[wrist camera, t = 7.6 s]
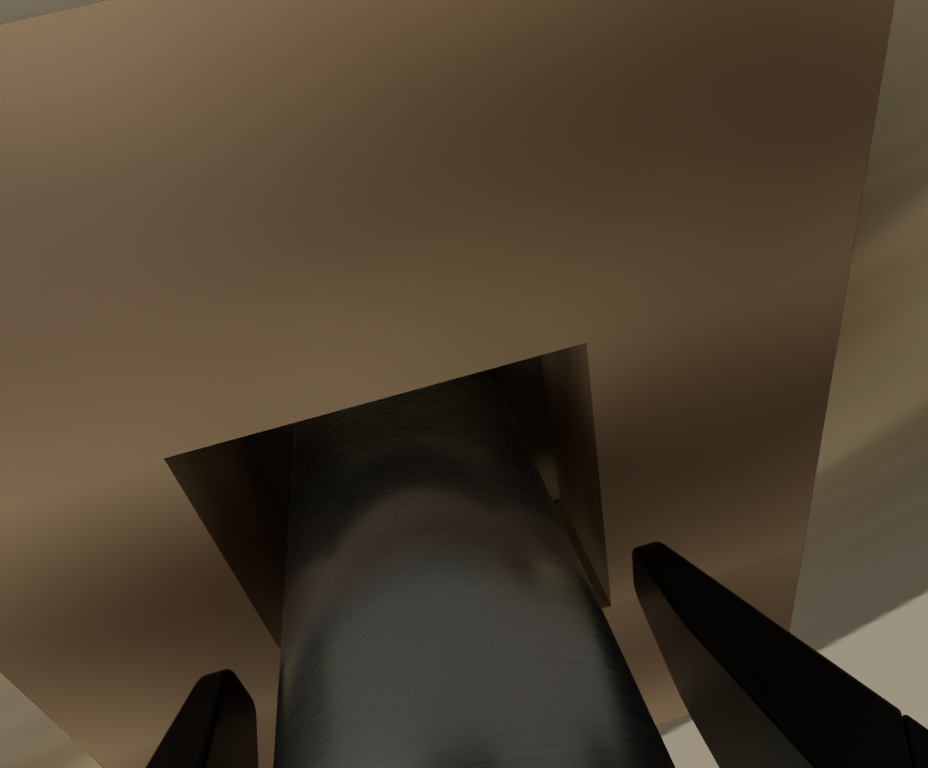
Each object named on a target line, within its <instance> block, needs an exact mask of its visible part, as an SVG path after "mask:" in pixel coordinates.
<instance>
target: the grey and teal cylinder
mask: <svg viewBox="0 0 928 768" xmlns="http://www.w3.org/2000/svg"><path fill="white" fill-rule="evenodd" d="M273 768H675V766H674V764H673V762H672V760H671V758H670V755H669V753H668V751H667V749H666V747H665V745H664V743H663V740H662V738H661V736H660V734H659V732H658V729H657V727H656V725H655V723H654V721H653V719H652V716H651V714H650V712H649V710H648V708H647V706H646V703H645V701H644V699H643V697H642V695H641V693H640V690H639V688H638V686H637V684H636V682H635V680H634V677H633V675H632V673H631V671H630V669H629V667H628V664H627V662H626V660H625V658H624V656H623V654H622V651H621V649H620V647H619V645H618V643H617V641H616V638H615V636H614V634H613V632H612V630H611V628H610V625H609V623H608V621H607V619H606V617H605V615H604V612H603V610H602V608H601V606H600V604H599V602H598V599H597V597H596V595H595V593H594V591H593V589H592V586H591V584H590V582H589V580H588V578H587V576H586V573H585V571H584V569H583V567H582V565H581V563H580V560H579V558H578V556H577V554H576V552H575V550H574V547H573V545H572V543H571V541H570V539H569V537H568V534H567V532H566V530H565V528H564V526H563V524H562V521H561V519H560V517H559V515H558V513H557V511H556V508H555V506H554V504H553V502H552V500H551V498H550V495H549V493H548V491H547V489H546V487H545V485H544V483H543V480H542V478H541V476H540V474H539V472H538V470H537V467H536V465H535V463H534V461H533V459H532V457H531V454H530V452H529V450H528V448H527V446H526V444H525V441H524V439H523V437H522V435H521V433H520V431H519V428H518V426H517V424H516V422H515V420H514V418H513V415H512V413H511V411H510V409H509V407H508V405H507V402H506V400H505V398H504V396H503V394H502V392H501V389H500V387H499V386H498V384H497V383H496V381H495V380H494V379H493V377H492V376H491V375H490V374H489V373H488V372H487V371H486V370H485V371H481V372H478V373H474V374H470V375H467V376H463V377H459V378H456V379H452V380H448V381H445V382H441V383H437V384H434V385H430V386H426V387H423V388H419V389H416V390H412V391H408V392H405V393H401V394H397V395H394V396H390V397H386V398H383V399H379V400H375V401H372V402H368V403H364V404H361V405H357V406H353V407H350V408H346V409H342V410H339V411H335V412H332V413H328V414H324V415H321V416H317V417H313V418H310V419H306V420H302V421H299V422H296V423H295V429H294V440H293V456H292V472H291V488H290V504H289V520H288V537H287V553H286V569H285V585H284V601H283V617H282V634H281V650H280V666H279V682H278V698H277V714H276V731H275V747H274V763H273Z"/></svg>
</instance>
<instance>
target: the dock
mask: <svg viewBox="0 0 928 768" xmlns="http://www.w3.org/2000/svg"><path fill="white" fill-rule="evenodd" d="M894 1H895V0H107V1H102V2H98V3H93V4H89V5H84V6H80V7H76V8H71V9H67V10H62V11H58V12H54V13H49V14H45V15H40V16H36V17H32V18H27V19H23V20H18V21H14V22H10V23H5V24H1V25H0V672H1V673H2V674H3V675H4V676H5V677H6V678H7V679H8V680H9V681H11V682H12V683H13V684H14V685H15V686H16V687H17V688H18V689H19V690H20V691H21V692H22V693H23V694H24V695H26V696H27V697H28V698H29V699H30V700H31V701H32V702H33V703H34V704H35V705H36V706H37V707H38V708H40V709H41V710H42V711H43V712H44V713H45V714H46V715H47V716H48V717H49V718H50V719H51V720H52V721H53V722H55V723H56V724H57V725H58V726H59V727H60V728H61V729H62V730H63V731H64V732H65V733H66V734H67V735H68V736H70V737H71V738H72V739H73V740H74V741H75V742H76V743H77V744H78V745H79V746H80V747H81V748H82V749H84V750H85V751H86V752H87V753H88V754H89V755H90V756H91V757H92V758H93V759H94V760H95V761H96V762H97V763H99V764H100V765H101V766H102V767H103V768H145V767H146V766H147V764H148V762H149V761H150V759H151V757H152V756H153V754H154V752H155V751H156V749H157V747H158V746H159V744H160V742H161V740H162V739H163V737H164V735H165V734H166V732H167V730H168V729H169V727H170V725H171V724H172V722H173V720H174V719H175V717H176V715H177V714H178V712H179V710H180V709H181V707H182V705H183V704H184V702H185V700H186V699H187V697H188V695H189V693H190V692H191V690H192V688H193V687H194V685H195V684H196V682H197V681H198V680H199V679H200V678H201V677H202V676H204V675H207V674H210V673H214V672H217V671H220V670H224V669H230V670H232V671H233V672H234V673H235V674H236V676H237V677H238V679H239V680H240V681H241V683H242V684H243V686H244V687H245V689H246V690H247V691H248V693H249V694H250V696H251V697H252V699H253V701H254V704H255V708H256V716H257V739H258V763H259V768H273V763H274V747H275V731H276V714H277V698H278V682H279V666H280V650H281V634H282V617H283V601H284V585H285V569H286V553H287V537H288V528H287V526H286V524H285V522H284V520H283V518H282V516H281V514H280V512H279V510H278V508H277V506H276V504H275V502H274V500H273V498H272V496H271V494H270V492H269V490H268V488H267V486H266V484H265V482H264V480H263V478H262V476H261V474H260V472H259V470H258V468H257V466H256V464H255V462H254V460H253V458H252V456H251V454H250V452H249V450H248V448H247V446H246V444H245V442H244V440H243V438H242V437H244V436H248V435H251V434H255V433H258V432H262V431H266V430H269V429H273V428H277V427H280V426H284V425H288V424H291V423H295V422H299V421H302V420H306V419H310V418H313V417H317V416H321V415H324V414H328V413H332V412H335V411H339V410H342V409H346V408H350V407H353V406H357V405H361V404H364V403H368V402H372V401H375V400H379V399H383V398H386V397H390V396H394V395H397V394H401V393H405V392H408V391H412V390H416V389H419V388H423V387H426V386H430V385H434V384H437V383H441V382H445V381H448V380H452V379H456V378H459V377H463V376H467V375H470V374H474V373H478V372H481V371H485V370H489V369H492V368H496V367H500V366H503V365H507V364H510V363H514V362H518V361H521V360H525V359H529V358H532V357H536V356H540V359H541V366H542V373H543V380H544V387H545V394H546V401H547V408H548V415H549V422H550V428H551V435H552V442H553V449H554V456H555V463H556V470H557V477H558V484H559V491H560V498H561V502H558V503H554V506H555V508H556V511H557V513H558V515H559V517H560V519H561V521H562V524H563V526H564V528H565V530H566V532H567V534H568V537H569V539H570V541H571V543H572V545H573V547H574V550H575V552H576V554H577V556H578V558H579V560H580V563H581V565H582V567H583V569H584V571H585V573H586V576H587V578H588V580H589V582H590V584H591V586H592V589H593V591H594V593H595V595H596V597H597V599H598V602H599V604H600V606H601V608H602V610H603V612H604V615H605V617H606V619H607V621H608V623H609V625H610V628H611V630H612V632H613V634H614V636H615V638H616V641H617V643H618V645H619V647H620V649H621V651H622V654H623V656H624V658H625V660H626V662H627V664H628V667H629V669H630V671H631V673H632V675H633V677H634V680H635V682H636V684H637V686H638V688H639V690H640V693H641V695H642V697H643V699H644V701H645V703H646V706H647V708H648V710H649V712H650V714H651V716H652V719H653V721H654V723H655V725H659V724H662V723H665V722H668V721H671V720H675V719H678V718H681V717H684V716H687V715H690V714H689V712H688V710H687V708H686V707H685V705H684V703H683V701H682V699H681V697H680V695H679V693H678V690H677V688H676V686H675V684H674V682H673V679H672V677H671V675H670V672H669V670H668V668H667V665H666V663H665V661H664V658H663V656H662V654H661V651H660V649H659V647H658V644H657V642H656V640H655V637H654V635H653V633H652V631H651V628H650V626H649V624H648V621H647V619H646V617H645V614H644V612H643V610H642V607H641V605H640V603H639V600H638V598H637V595H636V592H635V588H634V582H633V565H632V551H633V549H634V548H635V547H638V546H641V545H644V544H648V543H651V542H656V541H657V542H661V543H663V544H665V545H666V546H668V547H669V548H671V549H672V550H673V551H675V552H676V553H678V554H679V555H681V556H682V557H683V558H685V559H686V560H688V561H689V562H690V563H692V564H693V565H695V566H696V567H698V568H699V569H700V570H702V571H703V572H705V573H706V574H707V575H709V576H710V577H712V578H713V579H715V580H716V581H717V582H719V583H720V584H722V585H723V586H725V587H726V588H727V589H729V590H730V591H732V592H733V593H734V594H736V595H737V596H739V597H740V598H742V599H743V600H744V601H746V602H747V603H749V604H750V605H752V606H753V607H754V608H756V609H757V610H759V611H760V612H761V613H763V614H764V615H766V616H767V617H769V618H770V619H771V620H773V621H774V622H776V623H777V624H779V625H780V626H781V627H783V628H784V629H786V630H787V631H788V632H789V629H790V623H791V617H792V611H793V605H794V600H795V594H796V588H797V582H798V576H799V570H800V564H801V558H802V552H803V546H804V540H805V534H806V528H807V522H808V516H809V510H810V504H811V498H812V492H813V486H814V480H815V474H816V468H817V462H818V456H819V450H820V444H821V438H822V432H823V426H824V420H825V414H826V408H827V402H828V396H829V390H830V384H831V378H832V372H833V366H834V360H835V354H836V348H837V342H838V336H839V330H840V324H841V318H842V312H843V306H844V300H845V294H846V288H847V283H848V277H849V271H850V265H851V259H852V253H853V247H854V241H855V235H856V229H857V223H858V217H859V211H860V205H861V199H862V193H863V187H864V181H865V175H866V169H867V163H868V157H869V151H870V145H871V139H872V133H873V127H874V121H875V115H876V109H877V103H878V97H879V91H880V85H881V79H882V73H883V67H884V61H885V55H886V49H887V43H888V37H889V31H890V25H891V19H892V13H893V7H894Z"/></svg>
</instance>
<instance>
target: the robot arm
mask: <svg viewBox="0 0 928 768" xmlns="http://www.w3.org/2000/svg"><path fill="white" fill-rule="evenodd" d="M632 565H633V582H634V588H635V592H636V595H637V598H638V600H639V603H640V605H641V607H642V610H643V612H644V614H645V617H646V619H647V621H648V624H649V626H650V628H651V631H652V633H653V635H654V637H655V640H656V642H657V644H658V647H659V649H660V651H661V654H662V656H663V658H664V661H665V663H666V665H667V668H668V670H669V672H670V675H671V677H672V679H673V682H674V684H675V686H676V688H677V690H678V693H679V695H680V697H681V699H682V701H683V703H684V705H685V707H686V708H687V710H688V712H689V714H690V716H691V718H692V720H693V721H694V723H695V725H696V727H697V728H698V730H699V732H700V734H701V736H702V737H703V739H704V741H705V743H706V744H707V746H708V748H709V750H710V751H711V753H712V755H713V757H714V759H715V760H716V762H717V764H718V766H719V767H720V768H928V729H926V728H925V727H924V726H922V725H921V724H919V723H918V722H917V721H915V720H914V719H912V718H911V717H909V716H908V715H903V716H902V714H901V711H900V710H899V709H898V708H896V707H895V706H893V705H892V704H891V703H889V702H888V701H886V700H885V699H884V698H882V697H881V696H879V695H878V694H877V693H875V692H874V691H872V690H871V689H869V688H868V687H866V686H865V685H864V684H862V683H861V682H859V681H858V680H857V679H855V678H854V677H852V676H851V675H849V674H848V673H846V672H845V671H844V670H842V669H841V668H840V667H838V666H837V665H835V664H834V663H832V662H831V661H830V660H828V659H827V658H825V657H824V656H823V655H821V654H820V653H818V652H817V651H815V650H814V649H813V648H811V647H810V646H808V645H807V644H805V643H804V642H803V641H801V640H800V639H798V638H797V637H796V636H794V635H793V634H791V633H790V632H788V631H787V630H786V629H784V628H783V627H781V626H780V625H779V624H777V623H776V622H774V621H773V620H771V619H770V618H769V617H767V616H766V615H764V614H763V613H761V612H760V611H759V610H757V609H756V608H754V607H753V606H752V605H750V604H749V603H747V602H746V601H744V600H743V599H742V598H740V597H739V596H737V595H736V594H734V593H733V592H732V591H730V590H729V589H727V588H726V587H725V586H723V585H722V584H720V583H719V582H717V581H716V580H715V579H713V578H712V577H710V576H709V575H707V574H706V573H705V572H703V571H702V570H700V569H699V568H698V567H696V566H695V565H693V564H692V563H690V562H689V561H688V560H686V559H685V558H683V557H682V556H681V555H679V554H678V553H676V552H675V551H673V550H672V549H671V548H669V547H668V546H666V545H665V544H663V543H661V542H657V541H656V542H651V543H648V544H644V545H641V546H638V547H635V548H634V549H633V551H632ZM145 768H259V763H258V739H257V716H256V708H255V704H254V701H253V699H252V697H251V696H250V694H249V693H248V691H247V690H246V689H245V687H244V686H243V684H242V683H241V681H240V680H239V679H238V677H237V676H236V674H235V673H234V672H233V671H232V670H230V669H224V670H220V671H217V672H214V673H210V674H207V675H204V676H202V677H201V678H200V679H199V680H198V681H197V682H196V684H195V685H194V687H193V688H192V690H191V692H190V693H189V695H188V697H187V699H186V700H185V702H184V704H183V705H182V707H181V709H180V710H179V712H178V714H177V715H176V717H175V719H174V720H173V722H172V724H171V725H170V727H169V729H168V730H167V732H166V734H165V735H164V737H163V739H162V740H161V742H160V744H159V746H158V747H157V749H156V751H155V752H154V754H153V756H152V757H151V759H150V761H149V762H148V764H147V766H146V767H145Z"/></svg>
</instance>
